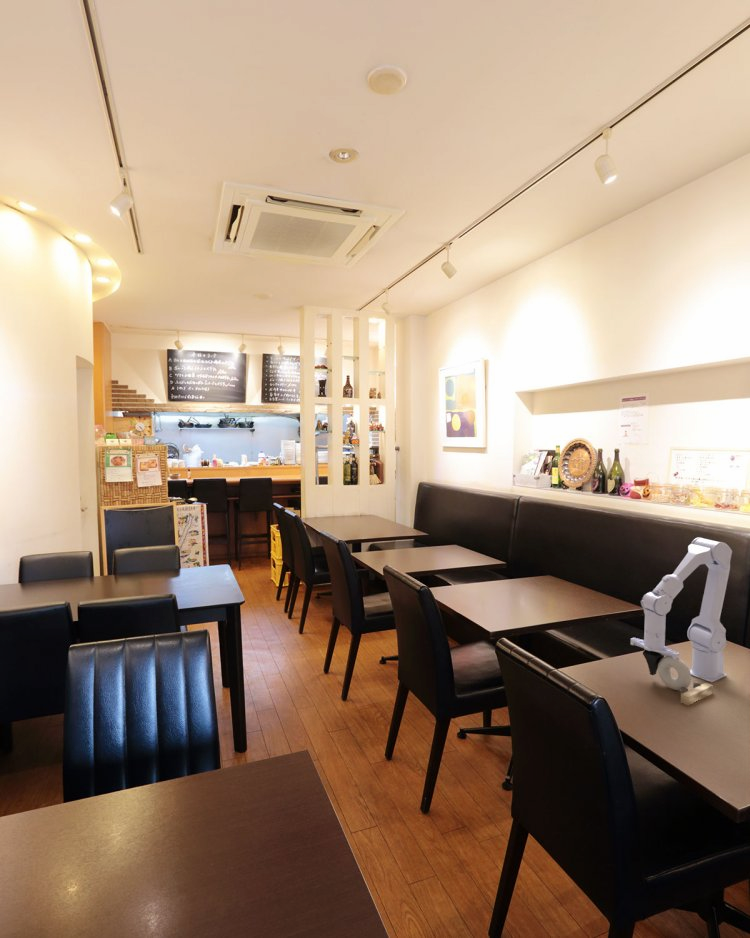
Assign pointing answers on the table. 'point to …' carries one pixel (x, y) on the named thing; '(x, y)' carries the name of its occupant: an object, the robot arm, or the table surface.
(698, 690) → the locator
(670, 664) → the donut
